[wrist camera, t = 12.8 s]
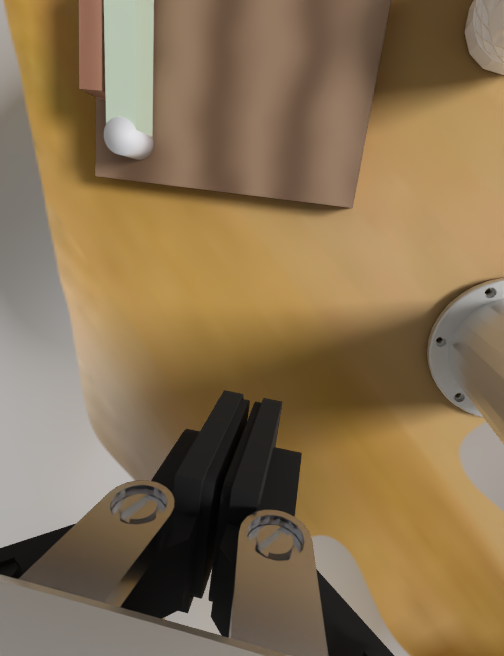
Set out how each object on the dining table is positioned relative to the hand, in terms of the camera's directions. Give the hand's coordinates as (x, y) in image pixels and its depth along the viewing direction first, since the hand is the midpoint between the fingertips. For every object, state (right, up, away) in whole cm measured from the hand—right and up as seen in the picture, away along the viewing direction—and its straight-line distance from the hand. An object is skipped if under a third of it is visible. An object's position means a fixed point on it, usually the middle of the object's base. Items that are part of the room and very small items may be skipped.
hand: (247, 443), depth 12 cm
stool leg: (-9, +25, +20) cm, 33 cm away
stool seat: (-1, +24, +22) cm, 32 cm away
